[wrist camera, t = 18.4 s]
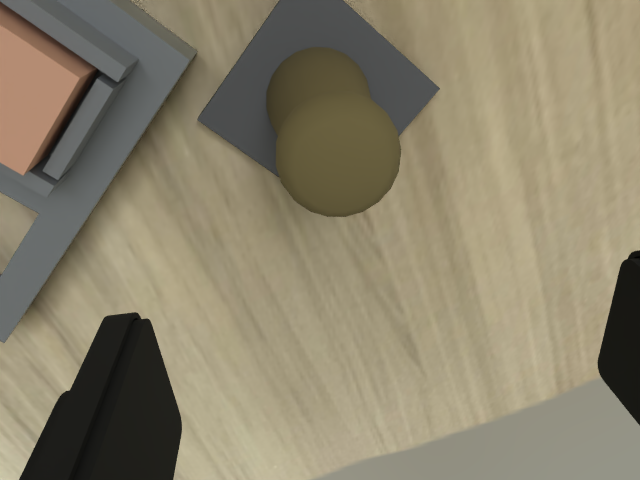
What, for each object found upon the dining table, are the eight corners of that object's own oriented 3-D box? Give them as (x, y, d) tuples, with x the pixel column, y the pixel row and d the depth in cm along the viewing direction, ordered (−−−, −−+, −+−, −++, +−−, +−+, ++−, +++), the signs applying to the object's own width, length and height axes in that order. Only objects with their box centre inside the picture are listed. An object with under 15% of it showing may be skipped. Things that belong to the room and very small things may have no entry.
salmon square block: (-18, -15, 22) (-56, -13, 20) (100, 66, 24) (79, 78, 22) (-66, 87, 24) (-106, 101, 22) (47, 154, 26) (23, 175, 24)
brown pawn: (373, 145, 31) (421, 228, 21) (274, 158, 30) (276, 248, 21) (367, 40, 28) (419, 80, 18) (257, 53, 28) (252, 101, 18)
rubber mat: (303, -35, 26) (304, -35, 26) (436, 85, 30) (439, 88, 29) (199, 116, 30) (197, 119, 29) (329, 208, 33) (331, 213, 33)
